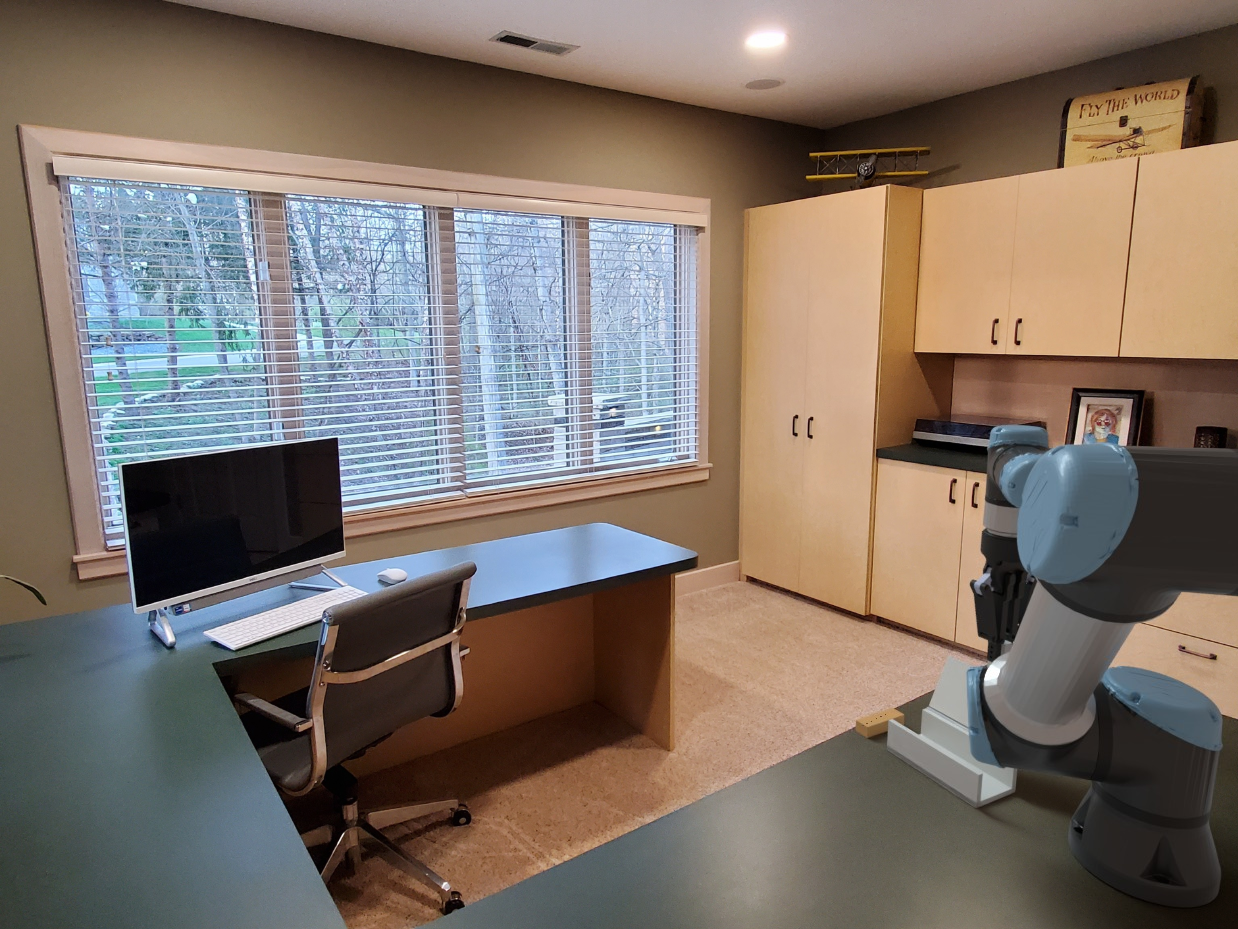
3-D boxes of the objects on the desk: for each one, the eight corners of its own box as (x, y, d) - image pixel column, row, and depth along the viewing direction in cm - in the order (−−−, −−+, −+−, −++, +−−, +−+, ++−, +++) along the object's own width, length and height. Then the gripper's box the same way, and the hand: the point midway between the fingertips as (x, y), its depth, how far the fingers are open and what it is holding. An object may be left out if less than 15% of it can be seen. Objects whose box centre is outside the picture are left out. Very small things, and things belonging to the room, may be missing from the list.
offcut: (891, 720, 125) (903, 726, 122) (855, 732, 121) (866, 739, 119) (892, 707, 124) (904, 714, 122) (856, 720, 121) (867, 727, 118)
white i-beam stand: (1015, 792, 105) (1018, 759, 104) (975, 808, 101) (978, 775, 100) (923, 737, 119) (925, 708, 118) (886, 749, 115) (888, 720, 114)
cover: (1017, 761, 104) (1021, 763, 104) (1042, 698, 104) (1045, 699, 104) (925, 710, 118) (929, 711, 118) (947, 654, 118) (950, 656, 118)
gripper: (1017, 519, 115) (1004, 662, 119) (957, 530, 110) (946, 679, 114) (1063, 531, 109) (1048, 681, 113) (1002, 543, 103) (989, 700, 107)
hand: (997, 680), depth 113 cm, fingers closed
